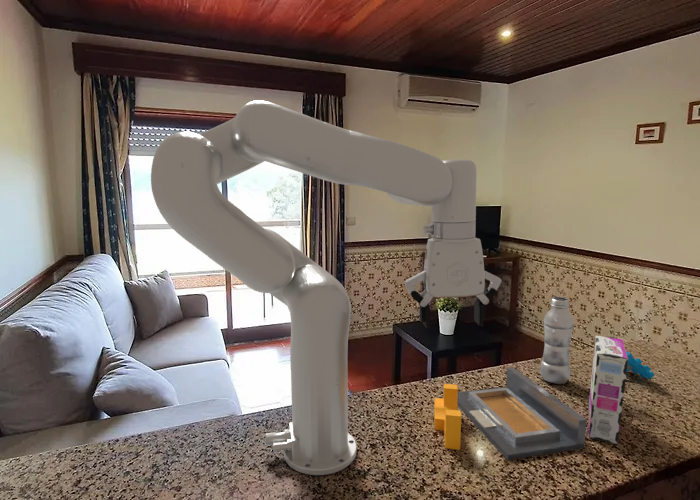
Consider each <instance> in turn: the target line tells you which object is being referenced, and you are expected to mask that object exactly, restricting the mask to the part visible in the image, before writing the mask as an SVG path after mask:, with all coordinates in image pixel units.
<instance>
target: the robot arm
mask: <svg viewBox="0 0 700 500" xmlns="http://www.w3.org/2000/svg"><path fill="white" fill-rule="evenodd" d="M264 162H267V163H270V164H273V165H277V166H279V167H283V168H286V169H289V170H292V171H294V172H298V173H300V174H304V175H307V176H310V177H312V178H313V177H314V178H316V179H320V180H323V181H325V182H330V183H335V184H338V185H346V186H356V187H362V188H368V189H372V190H375V191H379V192H383V193H387V195H388V196H389V197H390V198H391V200H394V201H395V202H397V203H400V204H403V205H413V206H414V205H416V206H423V207H431V221H430V223H429V224H428V225H423V229H422V230H423V234H428V235H430V237H431V238H428V239H427V243H426V247H425V248H426V249H425V254H424V264H423V270H422V271H421V272H419V273H417V274H415V275H413V276H411V277H409V278H408V279H406V280H404V285H405V287H406V290H407V291H408V294H409V295H410V296H411V297H412V299H413V300H415V301H416V302H417V303H418V304H419V321H420V323H422V324H423V325H424V327H425V329H430V327H431V307H430V305H429V303H430V302H431V301H432V299H434V298H457V297H458V298H461V297H462V298H466V297H476V299H475V300H474V302H473V303H474V304H473V305H474V306H473V309H474V310H473V321H474V323H476V324H477V325H478V326H479V327H483V326H484V320H486V318H487V305H488V304H489V303H490V300H491V299H492V298H493V297H494V296H496V294H497V290H498V289H499V287H500V285H501V283H502V279H501V277H498V276H496V275H494V274H492V273H491V272H488V271H486V270H485V264H484V255H483V254H484V253H483V247H482V241H481V239H480V238H479V237H478V238H477V237H476V223H477V222H476V220H477V218H476V216H477V211H476V210H477V166H476V165H477V164H475V161H472V160H470V159H443V160H442V159H440V158H438V157H436V156H434V155H432V154H429V153H426V152H424V151H422V150H419V149H416V148H413V147H411V146H408V145H405V144H402V143H399V142H395V141H392V140H388V139H384V138H380V137H376V136H372V135H368V134H365V133H362V132H359V131H355V130H350V129H346V128H343V127H340V126H336V125H334V124H331V123H329V122H327V121H323V120H320V119H317V118H315V117H311V116H309V115H307V114H304V113H302V112H299V111H296V110H293V109H290V108H287V107H285V106H282V105H280V104H276V103H274V102H271V101H266V100H253V101H252V100H251V101H249V102H247V103H246V104H244V105H243V106H242V107H241V108H240V109H239V110H238V111H237V113H236V115H235V117H233V118H231V119H230V120H229V119H228V121H225V122H224V123H221V124H219V125H217V126H215V127H213V128H210V129H208V130H205V131H203V132H201V133H195V132H194V131H193V132H192V131H179V132H175V133H172V134H170V135H168V136H167V137H165V138H164V139H163V140H162V141H161V143H159V145H158V147H157V148H156V150H155V153H154V155H153V159H152V164H151V170H150V171H151V172H150V187H151V192H152V196H153V198H154V202H155V205H156V207H157V209H158V211H159V213H160V215H161V216H162V218H163V220H164V221H165V222H166V223H167V224H168V225H169V226H170V228H171V229H172V230H174V232H175V233H177V234H178V235H179V236H180V237H181V238H182V239H184V240H185V241H187V242H188V243H189V244H191V245H192V246H193V247H195V248H196V249H197V250H199V251H200V252H201V253H203V254H204V255H206V256H207V257H208V258H209V259H210V260H211V261H213V262H215V264H217V265H218V266H219V267H221V268H223V269H224V270H226V271H227V272H228V273H230V274H231V275H233V276H234V277H235V278H236V279H238V280H239V281H240V282H241V283H243V284H244V286H246V287H248V288H249V289H251V290H253V291H255V292H258V293H261V294H262V293H264V294H269V295H271V296H273V297H274V298H275V299H277V300H278V301H280V302H281V303H282V304H284V305H285V306H286V307H287V309H288V310H289V315H290V348H289V349H290V350H289V351H290V352H289V353H290V357H289V359H290V360H289V361H290V382H291V383H290V384H291V387H290V388H291V389H290V391H291V421H292V422H289V423H288V427H289V428H287V429H283V431H279V432H267V433H265V446H266V447H267V446H272V447H273V448H272V449H273V453H274V452H275V453H277V452H282V451H283V457H284V458H283V459H284V460H285V462H286V464H287V465H288V466H289V467H290V468H292V469H293V470H295V471H297V472H298V473H301V474H305V475H308V476H309V475H311V476H325V475H331V474H335V473H337V472H340V471H342V470H344V469H346V468H347V467H349V465H351V464H352V463H353V461H354V460H355V458H356V456H357V454H358V453H357V452H358V451H357V449H358V446H357V441H356V440H355V438H354V437H353V436H352V435H351V433H349V429H348V428H349V427H348V425H349V424H348V423H349V422H348V421H349V414H348V413H349V410H348V408H349V407H348V406H349V405H348V403H349V401H348V396H349V395H348V394H349V393H348V390H349V389H348V386H349V385H348V381H349V380H348V378H349V377H348V370H349V369H348V345H349V344H348V343H349V342H348V341H349V332H350V324H351V317H352V316H351V315H352V307H351V301H350V297H349V295H348V291H347V290H346V288H345V286H343V284H342V283H341V282H340V281H339V280H338V279H337V278H336V277H334V275H332V274H331V273H329V271H327V270H326V269H324V267H322V266H320V264H318V263H316V262H315V261H314V260H312V259H311V257H309V256H307V255H306V253H304V252H302V251H301V250H300V249H298V248H297V247H296V246H294V245H293V244H292V243H290V242H289V241H288V240H287V239H285V238H284V237H283V236H282V235H280V234H279V233H278V232H276V231H274V230H271V229H268V228H264V227H263V226H262V225H260V224H259V223H257V222H256V221H255V220H253V219H252V218H251V217H249V216H248V215H247V214H246V213H245V212H243V210H242V209H240V208H239V207H238V206H236V205H235V204H234V203H232V202H231V201H229V199H227V198H226V197H225V196H224V195H223V193H222V192H221V191H220V188H219V186H218V185H219V184H221V183H223V182H225V181H227V180H230V179H232V178H233V177H235V176H238V175H240V174H242V173H244V172H247V171H248V170H250V169H253V168H255V167H256V166H259V165H261V164H262V163H264ZM485 280H486V281H489V284H488V286H487V288H485V287H486V282H485ZM421 282H423V289H424V290H423V291H422V292H421V293H419V292H418V291H417V290H416V285H417V284H419V283H421Z"/></svg>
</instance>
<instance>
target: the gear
mask: <svg viewBox="0 0 700 500" xmlns="http://www.w3.org/2000/svg"><path fill="white" fill-rule="evenodd" d="M626 354H627V357H628V364H627V373H628V372H632V373H633V374H635V375H637V374H638V375H639V376H640V377H641V378H643V379H646V378H647V379H648V380H650V381H651V380H652V378H653V377H655V373H654V372H653V371H651V368H650V366H648V365H646V364H645V365H643V364H642V363H643V361H642V360H641V359H640V358H638V357H636V358H634V356H633V354H632V353H630V352H629V351H626Z"/></svg>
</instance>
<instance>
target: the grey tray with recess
mask: <svg viewBox="0 0 700 500" xmlns="http://www.w3.org/2000/svg"><path fill="white" fill-rule="evenodd" d="M457 403H458V409H460V411H462V413H464V415H465V416H466V417H467V418H468V419H469V420H470V421H471V422H472V423H473V424H474V425H475V426H476V427H477V429H478V430H479V431H480V432H481V433H482V434H483V435H484V436H485V437H486V438H487V440H488V441H490V443H491V444H492V445H493V446H494V447H495V448H496V449H497V451H499V452H500V454H501V455H502V456H503V457H504V458H505V459H506V460H507V461H511V460H519V459H525V458H530V457H532V458H533V457H537V456H543V455H551V454H559V453H564V452H569V451H576V450H582V449H585V444H586V442H585V441H586V431H587V420H588V419H587V418H585V417H584V416H582V415H581V414H579V413H578V412H577V411H576V410H574V409H573V408H571V407H570V406H569V405H567V404H566V403H564V402H563V401H562V400H560V399H559V398H557V397H555V396H554V395H553V394H551V393H550V392H549V391H547V390H546V389H545V388H543V387H542V386H540V385H539V384H538V383H536V382H535V381H533V380H532V379H530V378H529V377H527V376H526V375H524V374H523V373H522V372H520V371H519V370H517V369H516V368H515V367H511V366H510V367H506V381H505V386H501V387H494V388H493V387H492V388H485V389H484V388H483V389H475V390H468V391H467V390H464V391H458V396H457Z"/></svg>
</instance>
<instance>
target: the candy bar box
mask: <svg viewBox="0 0 700 500" xmlns="http://www.w3.org/2000/svg"><path fill="white" fill-rule="evenodd" d="M594 341H595V343H594V351H593V359H592V371H591V377H590V379H591V380H590V390H589V391H590V392H589V400H588V401H589V402H588V412H587V415H588V419H587V420H588V438H590V439H594V440H598V441H602V442H604V443H609V444H613V445H619V440H620V432H621V423H622V416H623V415H622V414H623V408H624V407H623V406H624V399H625V398H624V397H625V388H626V380H627V373H628V372H627V364H628V357H627V354H626V352H627V350H626V346H625V341H624V340H623V338H622V339H621V338H616V337H610V336H604V335H603V336H601V335H595V340H594Z"/></svg>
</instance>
